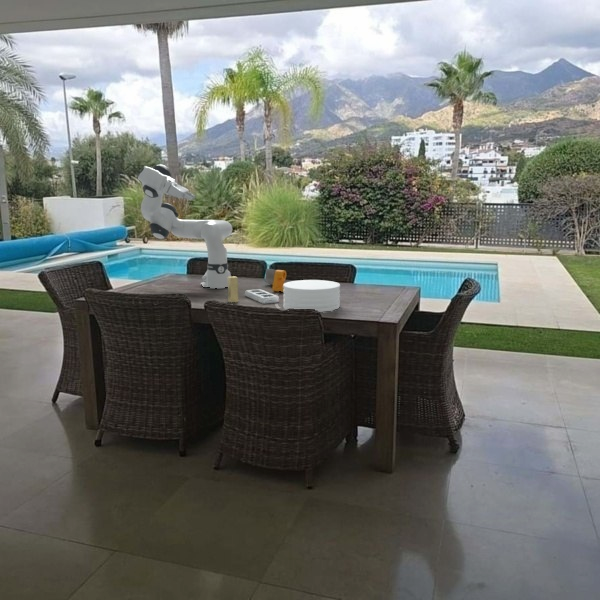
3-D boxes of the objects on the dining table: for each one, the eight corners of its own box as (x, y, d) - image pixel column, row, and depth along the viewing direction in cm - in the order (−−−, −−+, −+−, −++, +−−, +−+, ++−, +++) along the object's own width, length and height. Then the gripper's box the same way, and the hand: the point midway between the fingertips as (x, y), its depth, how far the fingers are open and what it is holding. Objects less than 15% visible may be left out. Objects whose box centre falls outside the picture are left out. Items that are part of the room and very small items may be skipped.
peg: (228, 301, 302) (227, 276, 300) (235, 300, 304) (234, 276, 302) (231, 302, 299) (230, 277, 296) (238, 302, 301) (237, 277, 298)
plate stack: (337, 301, 303) (337, 279, 301) (342, 313, 276) (342, 289, 273) (283, 301, 302) (283, 280, 300) (283, 313, 275) (283, 289, 272)
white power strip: (245, 295, 317) (245, 290, 317) (260, 294, 321) (260, 289, 321) (262, 303, 296) (262, 298, 296) (278, 302, 300) (278, 296, 300)
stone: (287, 286, 346) (287, 270, 344) (282, 287, 342) (281, 270, 340) (269, 283, 356) (269, 267, 354) (264, 284, 353) (264, 268, 351)
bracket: (283, 293, 325) (283, 272, 323) (272, 292, 329) (272, 271, 326) (292, 290, 335) (292, 269, 332) (281, 289, 338) (281, 268, 336)
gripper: (170, 190, 310) (193, 202, 311) (162, 192, 290) (187, 205, 292) (175, 179, 308) (198, 191, 310) (167, 181, 289) (192, 194, 290)
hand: (193, 198), depth 301 cm, fingers open, 8 cm apart
